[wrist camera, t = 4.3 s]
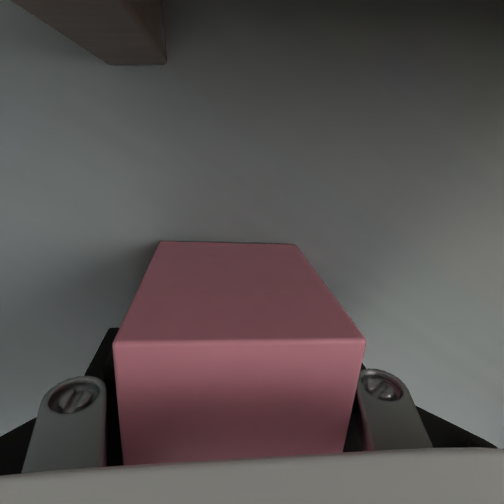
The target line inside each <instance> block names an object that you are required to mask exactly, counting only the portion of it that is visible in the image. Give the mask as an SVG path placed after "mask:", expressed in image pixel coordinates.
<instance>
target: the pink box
mask: <svg viewBox="0 0 504 504" xmlns="http://www.w3.org/2000/svg"><path fill="white" fill-rule="evenodd" d="M365 346H366V339H365V337H364V336H363V334H362V333H361V332H360V330H359V329H358V328H357V326H356V325H355V324H354V322H353V321H352V320H351V318H350V317H349V316H348V314H347V313H346V312H345V310H344V309H343V308H342V306H341V305H340V303H339V302H338V301H337V299H336V298H335V297H334V295H333V294H332V293H331V291H330V290H329V289H328V287H327V286H326V285H325V283H324V282H323V281H322V279H321V278H320V277H319V275H318V274H317V273H316V271H315V270H314V269H313V267H312V266H311V264H310V263H309V262H308V260H307V259H306V258H305V256H304V255H303V254H302V252H301V251H300V250H299V248H298V247H297V246H296V245H291V244H253V243H215V242H177V241H161V242H160V243H159V245H158V247H157V249H156V251H155V253H154V256H153V258H152V260H151V262H150V264H149V266H148V268H147V271H146V273H145V275H144V277H143V279H142V281H141V283H140V286H139V288H138V290H137V292H136V294H135V296H134V298H133V301H132V303H131V305H130V307H129V309H128V311H127V313H126V316H125V318H124V320H123V322H122V324H121V326H120V328H119V331H118V333H117V335H116V337H115V339H114V341H113V344H112V348H113V359H114V370H115V381H116V392H117V402H118V413H119V424H120V435H121V446H122V457H123V466H126V465H141V464H156V463H172V462H187V461H203V460H219V459H236V458H253V457H270V456H287V455H304V454H323V453H341V452H343V448H344V443H345V439H346V434H347V429H348V425H349V420H350V416H351V411H352V406H353V402H354V397H355V392H356V388H357V383H358V378H359V374H360V369H361V365H362V360H363V355H364V351H365Z"/></svg>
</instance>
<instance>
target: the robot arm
mask: <svg viewBox="0 0 504 504" xmlns="http://www.w3.org/2000/svg"><path fill="white" fill-rule="evenodd" d="M118 331H119V328H109V329H108V331H107V333H106V335H105V337H104V339H103V340H102V342H101V344H100V346H99V348H98V350H97V352H96V354H95V356H94V358H93V360H92V362H91V363H90V365H89V367H88V369H87V371H86V373H85V375H84V376H77V377H74V378H70V379H67V380H65V381H63V382H60V383H58V384H57V385H55V386H54V387H53V388H51V389H50V390H49V391H48V392H47V393H46V394H45V395H44V397H43V399H42V401H41V404H40V408H39V411H38V415H37V417H36V418H34V419H32V420H30V421H28V422H26V423H25V424H23V425H21V426H19V427H17V428H15V429H14V430H12V431H10V432H8V433H6V434H4V435H3V436H1V437H0V504H504V449H498V448H497V447H496V446H494V445H493V444H491V443H489V442H488V441H486V440H484V439H482V438H480V437H478V436H476V435H474V434H472V433H470V432H468V431H466V430H464V429H462V428H460V427H458V426H456V425H454V424H452V423H450V422H447V421H445V420H443V419H441V418H439V417H437V416H435V415H433V414H431V413H429V412H427V411H425V410H423V409H421V408H419V407H417V406H415V404H414V402H413V400H412V397H411V395H410V393H409V390H408V389H407V387H406V385H405V384H404V383H403V382H402V381H401V380H400V379H399V378H397V377H396V376H394V375H392V374H390V373H388V372H386V371H383V370H378V369H366V368H365V366H364V365H363V363H362V365H361V369H360V374H359V378H358V383H357V388H356V392H355V397H354V402H353V406H352V411H351V416H350V420H349V425H348V429H347V434H346V439H345V443H344V448H343V452H341V453H323V454H304V455H287V456H270V457H253V458H236V459H219V460H203V461H187V462H172V463H156V464H141V465H126V466H123V457H122V446H121V435H120V424H119V413H118V402H117V392H116V381H115V370H114V359H113V348H112V344H113V341H114V339H115V337H116V335H117V333H118Z"/></svg>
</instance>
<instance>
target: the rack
mask: <svg viewBox="0 0 504 504" xmlns="http://www.w3.org/2000/svg"><path fill="white" fill-rule="evenodd" d="M11 1H12V2H14V3H15V4H17V5H18V6H20V7H21V8H23V9H25V10H26V11H28V12H29V13H31V14H32V15H34V16H35V17H37V18H38V19H40V20H41V21H43V22H45V23H46V24H48V25H49V26H51V27H52V28H54V29H55V30H57V31H58V32H60V33H61V34H63V35H64V36H66V37H68V38H69V39H71V40H72V41H74V42H75V43H77V44H78V45H80V46H81V47H83V48H84V49H86V50H87V51H89V52H91V53H92V54H94V55H95V56H97V57H98V58H100V59H101V60H103V61H104V62H106V63H107V64H110V65H164V64H166V62H167V56H166V46H165V36H164V25H163V15H162V5H161V0H11Z"/></svg>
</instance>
